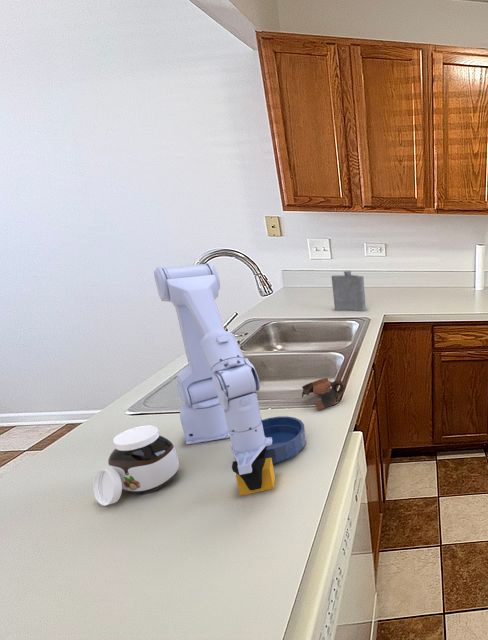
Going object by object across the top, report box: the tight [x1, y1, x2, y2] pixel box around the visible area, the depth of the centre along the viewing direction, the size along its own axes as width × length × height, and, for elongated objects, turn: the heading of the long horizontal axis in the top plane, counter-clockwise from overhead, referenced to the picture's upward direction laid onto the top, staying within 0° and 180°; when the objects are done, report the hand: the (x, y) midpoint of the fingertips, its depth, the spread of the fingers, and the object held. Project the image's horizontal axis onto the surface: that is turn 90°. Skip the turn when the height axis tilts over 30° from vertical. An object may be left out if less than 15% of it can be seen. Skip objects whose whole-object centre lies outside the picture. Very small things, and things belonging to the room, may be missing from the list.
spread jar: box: [92, 424, 180, 506], centre depth 78 cm, size 12×11×12 cm
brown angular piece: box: [301, 377, 346, 411], centre depth 115 cm, size 12×10×8 cm
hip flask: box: [331, 270, 367, 312], centre depth 202 cm, size 16×4×20 cm, turn 90°
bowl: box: [261, 415, 307, 465], centre depth 93 cm, size 14×14×4 cm
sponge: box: [235, 458, 276, 496], centre depth 81 cm, size 6×4×5 cm, turn 112°
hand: (257, 481), depth 81 cm, fingers closed on sponge, 4 cm apart
